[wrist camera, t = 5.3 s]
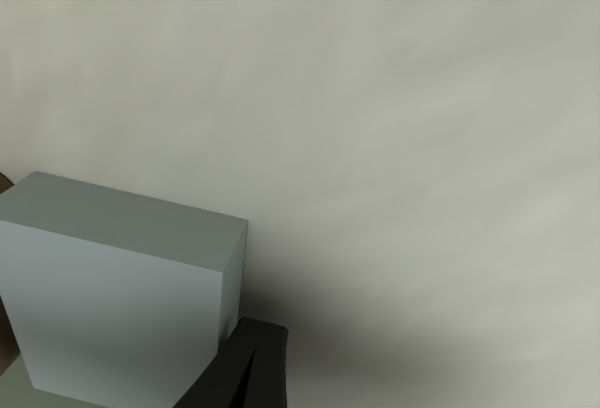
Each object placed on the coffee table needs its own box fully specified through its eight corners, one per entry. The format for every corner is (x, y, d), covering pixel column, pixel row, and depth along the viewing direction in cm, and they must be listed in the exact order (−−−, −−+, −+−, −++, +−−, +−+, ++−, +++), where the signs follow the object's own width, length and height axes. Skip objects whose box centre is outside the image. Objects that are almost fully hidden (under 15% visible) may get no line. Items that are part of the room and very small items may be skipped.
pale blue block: (252, 211, 11) (222, 272, 9) (235, 366, 15) (211, 434, 13) (45, 164, 11) (-29, 213, 9) (81, 327, 15) (33, 388, 13)
